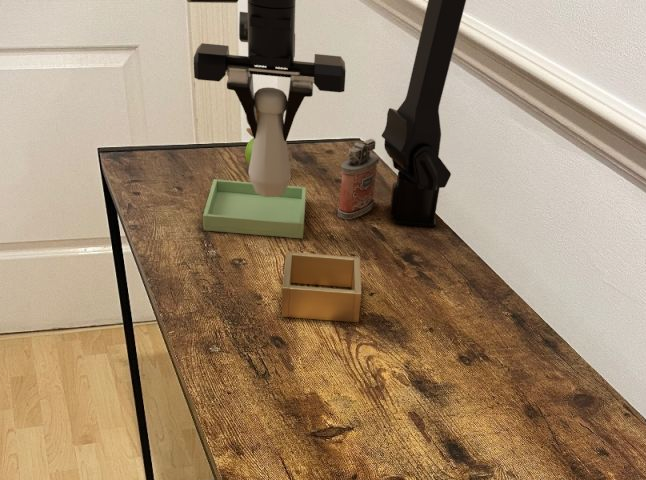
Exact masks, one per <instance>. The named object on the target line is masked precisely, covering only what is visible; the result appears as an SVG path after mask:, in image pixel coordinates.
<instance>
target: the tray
mask: <svg viewBox="0 0 646 480" xmlns="http://www.w3.org/2000/svg"><path fill="white" fill-rule="evenodd" d="M306 202H307V187H306V186H304V187H303V186H295V185H288V186H287V188H286V190H285V193H283V194H282V195H280V196H279V197H265V196H262V195H260V194H257V193H256V192H255V190H254V187H253V185H252V182H251V181H250V182H248V181H237V180H229V179H217V178H214V179H213V180H212V184H211V187H210V190H209V194H208V198H207V201H206V204H205V207H204V210H203V213H202V222H203V224H202V225H203V226H202V227H203V231H209V232H221V233H230V234H231V233H233V234H244V235H254V236H255V235H256V236H266V237H267V236H269V237H279V238H292V239H304V229H305V217H306V215H305V214H306Z"/></svg>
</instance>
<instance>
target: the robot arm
mask: <svg viewBox="0 0 646 480" xmlns="http://www.w3.org/2000/svg"><path fill="white" fill-rule="evenodd" d="M186 1H187V2H188V3H209V4H210V3H213V4H215V3H221V4H222V3H224V4H225V3H226V4H227V3H228V4H237V3H238V2H239V0H186ZM466 3H467V0H427V5H426V9H425V13H424V18H423V23H422V26H421V27H422V28H421V30H420V36H419V40H418V44H417V49H416V52H415V58H414V62H413V67H412V71H411V75H410V80H409V83H408V87H407V93H406V95H405V99H404V101H403V102H402V103H401V105H400V106H399V107H398V108H397V109H394V108H391V107H390V108H388V110H387V114H386V124H385V127H384V130H383V132H382V134H381V138H383V139H384V144H383V146H384V151H385V152H386V153H387V155H388V157H389V158H390V159H391V161H392V166H393V169H395V170H397V177H396V181H393V182H392V186H391V187H392V189H391V197H390V203H389V204H390V205H389V210H390V211H389V212H390V215H391V216H392V219H393V223H394V224H395V225H404V226H414V227H415V226H416V227H426V228H427V227H428V228H430V227H431V228H436V225H437V221H436V213H437V207H438V202H439V201H438V200H439V194H440V189H442V188H446V186H447V184H448V182H449V180H450V179H451V176H452V173H451V171H450V170H449V169H448V167H447V166H446V165H445V163H444V162H443V160H441V158H440V157H439V156H440V148H441V140H442V129H441V120H440V110H439V109H440V104H441V100H442V96H443V94H444V90H445V85H446V81H447V78H448V74H449V69H450V65H451V61H452V58H453V55H454V54H453V53H454V50H455V45H456V42H457V38H458V34H459V31H460V26H461V23H462V18H463V14H464V11H465V7H466ZM238 20H239V21H238V38H239V41H240V42H241V43H242V42H243V43H247V56H246V55H235V54H230V47H229V45H224V44H213V43H203V42H201V43H200V44H199V46H198V47H197V48H196V50H195V53H194V55H193V77H194V79H196V80H199V81H208V82H221V81H222V80H223V78H224V77H226V76H227V81H226V89H227V90H230V91H234V92H235V95H236V96H237V98H238V101H239V102H240V104H241V106H242V109H243V112H244V114H245V118H246V117H247V119H246V121H247V120H248V122H249V124H248V126H249V125H250V126H249V128H250V129H251V131H252V134H253V137H252V138H254V139H255V138H256V132H257V116H256V108H255V106H254V94H255V91H254V76H253V75H258V76H266V77H267V76H269V77H279V78H289V79H290V80H289V87H288V93H287V109H286V111H285V113H284V129H283V137H284V141H286V142H287V140H288V137H289V134H290V132H291V129H292V126H293V122H294V120H295V118H296V115H297V113H298V110H299V108H300V107H301V105H302V103H303V101H304V99H305V98H310V97H311V98H312V97H313V95H314V85H315V87H316V88H317V89H318V90H319V91H320V92H330V93H331V92H332V93H344V92H345V89H346V87H345V86H346V71H347V70H346V62H345V60H344V59H343V58H342V56H340V55H330V54H320V53H314V58H313V59H314V60H313V62H311V61H301V60H300V61H299V60H295V57H296V56H295V55H296V32H295V31H296V30H295V29H296V0H247V12H245V11H239V19H238Z"/></svg>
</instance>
